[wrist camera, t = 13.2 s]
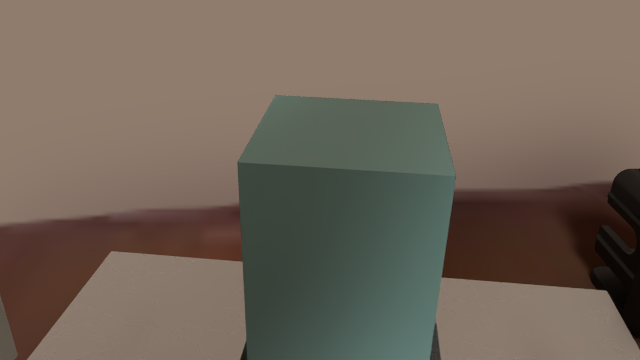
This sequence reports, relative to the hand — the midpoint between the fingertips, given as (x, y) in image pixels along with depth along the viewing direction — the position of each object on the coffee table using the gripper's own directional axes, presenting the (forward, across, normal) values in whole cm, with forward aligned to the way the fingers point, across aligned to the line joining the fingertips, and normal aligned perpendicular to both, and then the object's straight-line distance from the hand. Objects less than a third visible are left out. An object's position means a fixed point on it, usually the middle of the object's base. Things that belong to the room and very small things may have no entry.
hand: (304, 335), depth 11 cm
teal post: (+4, 0, -9) cm, 10 cm away
